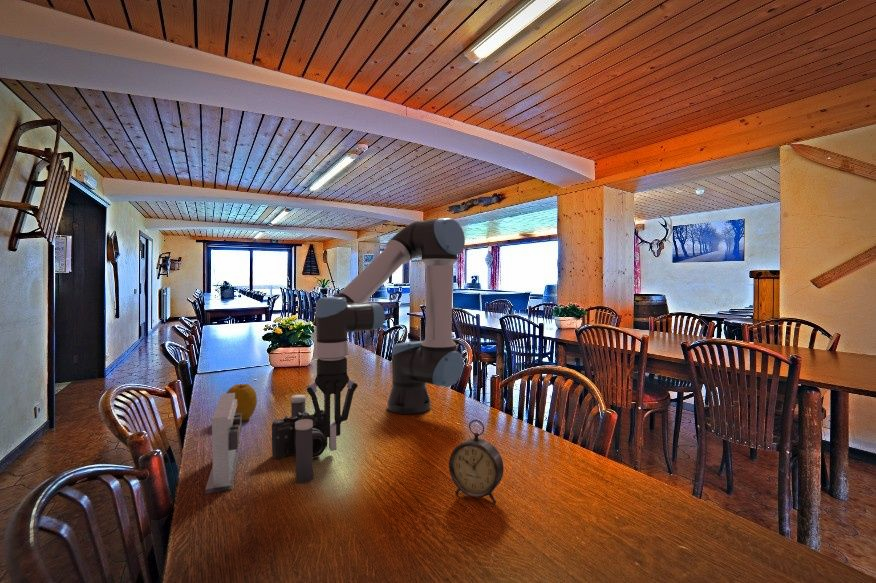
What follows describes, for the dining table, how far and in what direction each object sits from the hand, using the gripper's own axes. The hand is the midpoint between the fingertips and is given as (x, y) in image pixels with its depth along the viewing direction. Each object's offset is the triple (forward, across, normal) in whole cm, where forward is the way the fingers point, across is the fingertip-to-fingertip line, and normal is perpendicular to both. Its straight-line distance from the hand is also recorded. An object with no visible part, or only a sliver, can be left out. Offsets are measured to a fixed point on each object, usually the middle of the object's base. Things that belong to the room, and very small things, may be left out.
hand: (332, 448), depth 108 cm
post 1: (+2, +8, -11) cm, 13 cm away
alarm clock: (+2, -25, +32) cm, 41 cm away
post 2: (+2, +8, +11) cm, 13 cm away
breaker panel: (+2, +25, 0) cm, 25 cm away
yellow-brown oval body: (+2, +24, -38) cm, 45 cm away
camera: (+2, +7, -3) cm, 8 cm away
